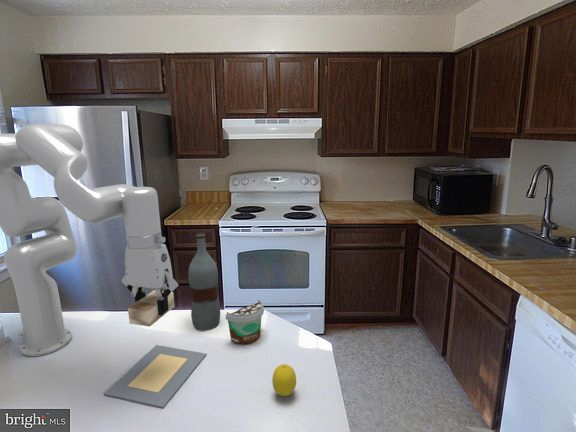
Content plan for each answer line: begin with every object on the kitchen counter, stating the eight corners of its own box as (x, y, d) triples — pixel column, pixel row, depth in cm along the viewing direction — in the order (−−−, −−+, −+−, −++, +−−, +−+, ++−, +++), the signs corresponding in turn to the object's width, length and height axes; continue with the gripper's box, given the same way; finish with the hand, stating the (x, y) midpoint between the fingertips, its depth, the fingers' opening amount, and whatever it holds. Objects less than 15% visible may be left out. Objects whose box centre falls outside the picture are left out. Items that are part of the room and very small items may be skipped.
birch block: (174, 306, 90) (173, 291, 89) (149, 326, 80) (148, 310, 79) (156, 304, 91) (154, 289, 90) (129, 323, 82) (127, 307, 81)
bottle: (213, 333, 107) (207, 239, 100) (186, 329, 109) (179, 238, 102) (225, 317, 116) (220, 231, 109) (200, 314, 118) (194, 229, 111)
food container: (238, 353, 97) (237, 320, 95) (226, 343, 102) (225, 312, 100) (272, 336, 105) (272, 306, 103) (260, 328, 110) (259, 299, 107)
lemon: (277, 406, 78) (277, 375, 76) (269, 390, 83) (268, 361, 81) (300, 399, 80) (300, 369, 78) (290, 384, 85) (290, 355, 83)
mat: (103, 395, 82) (103, 393, 82) (156, 346, 101) (156, 344, 100) (163, 408, 78) (163, 406, 78) (206, 355, 96) (206, 353, 96)
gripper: (186, 238, 82) (191, 308, 86) (125, 233, 87) (133, 300, 91) (167, 248, 75) (174, 323, 79) (101, 242, 80) (112, 314, 84)
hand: (152, 310), depth 85 cm, fingers closed on birch block, 5 cm apart
